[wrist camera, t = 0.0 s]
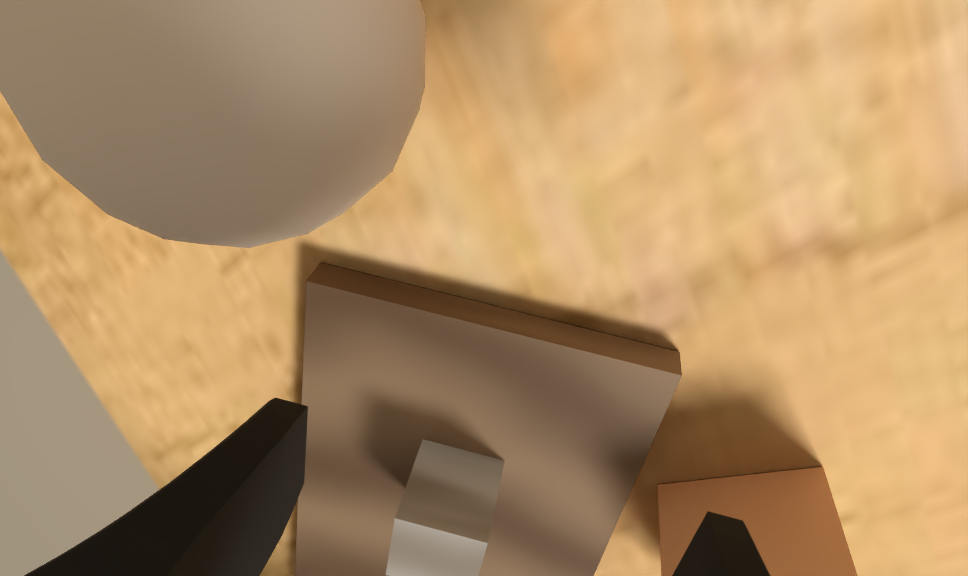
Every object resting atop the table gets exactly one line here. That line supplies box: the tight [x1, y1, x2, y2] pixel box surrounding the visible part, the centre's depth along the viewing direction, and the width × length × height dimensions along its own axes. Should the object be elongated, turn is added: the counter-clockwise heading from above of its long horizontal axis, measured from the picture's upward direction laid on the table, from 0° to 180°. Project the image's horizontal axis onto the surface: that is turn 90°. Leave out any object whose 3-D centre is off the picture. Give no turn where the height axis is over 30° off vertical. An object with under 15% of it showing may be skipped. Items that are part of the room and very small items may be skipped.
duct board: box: [295, 263, 682, 576], centre depth 25 cm, size 18×12×5 cm, turn 170°
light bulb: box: [0, 0, 426, 248], centre depth 13 cm, size 7×7×11 cm
